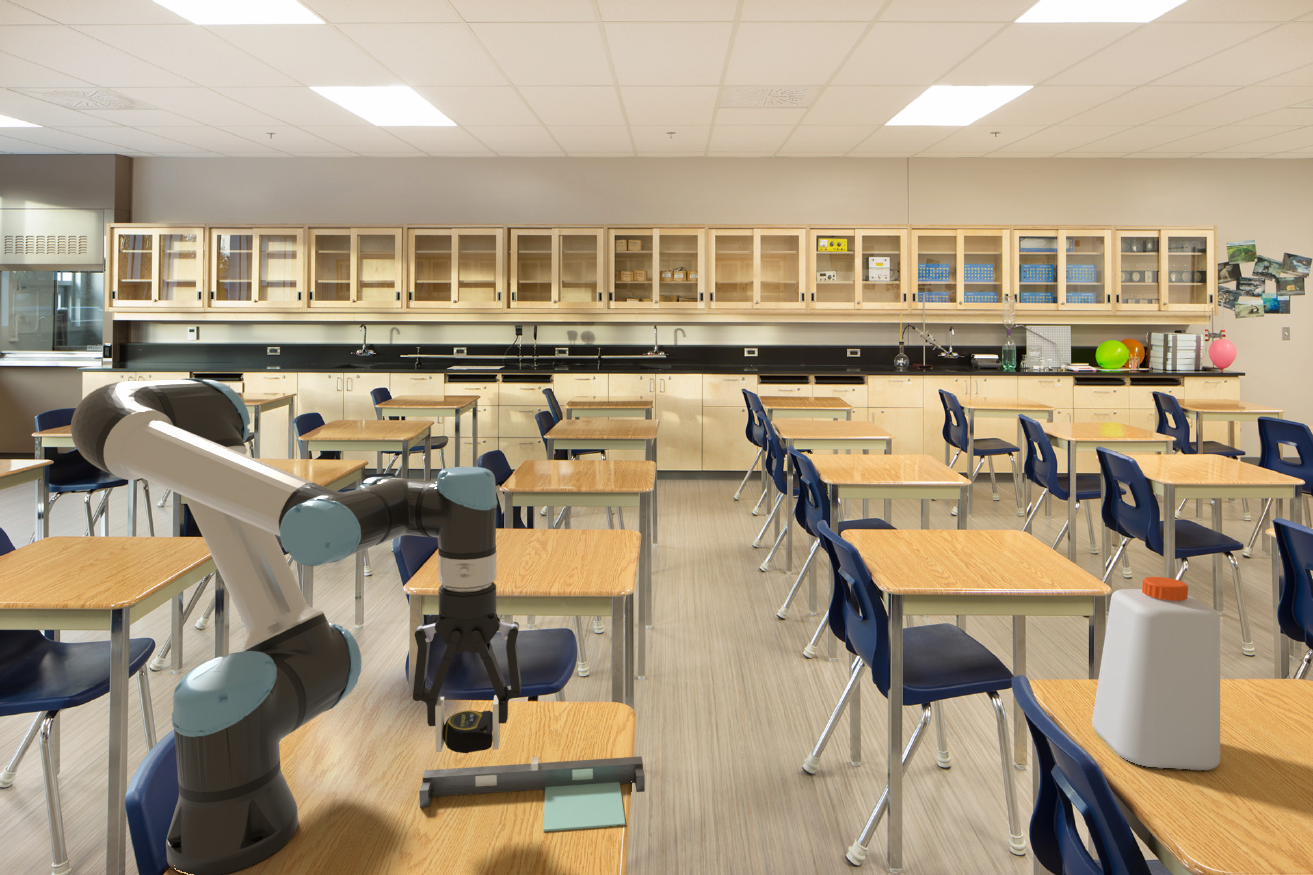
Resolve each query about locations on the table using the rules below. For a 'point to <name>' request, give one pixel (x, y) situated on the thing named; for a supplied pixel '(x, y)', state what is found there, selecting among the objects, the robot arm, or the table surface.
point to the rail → (530, 777)
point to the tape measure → (469, 731)
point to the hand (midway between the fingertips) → (468, 745)
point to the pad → (583, 806)
